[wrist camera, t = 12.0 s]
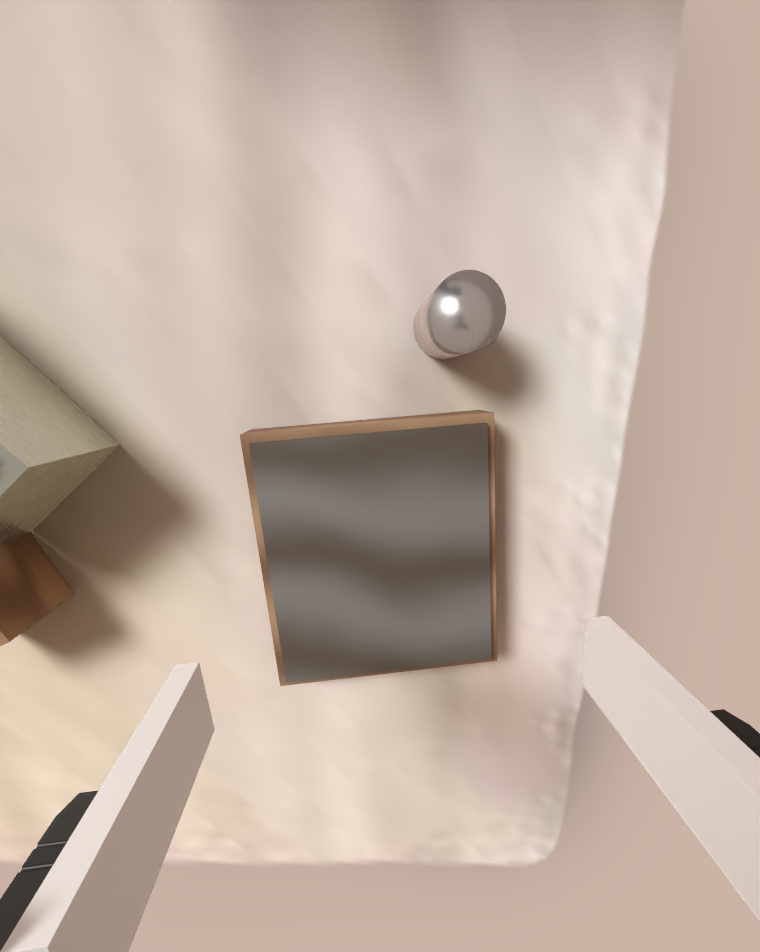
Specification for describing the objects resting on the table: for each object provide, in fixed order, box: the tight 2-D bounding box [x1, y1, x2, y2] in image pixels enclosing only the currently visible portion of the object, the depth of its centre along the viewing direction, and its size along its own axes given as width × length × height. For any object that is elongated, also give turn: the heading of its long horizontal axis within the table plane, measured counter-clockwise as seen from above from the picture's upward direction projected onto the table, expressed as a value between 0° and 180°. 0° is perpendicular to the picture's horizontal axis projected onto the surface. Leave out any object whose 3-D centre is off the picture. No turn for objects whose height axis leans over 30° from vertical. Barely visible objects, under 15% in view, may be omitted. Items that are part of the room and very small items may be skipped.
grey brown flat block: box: [240, 410, 497, 686], centre depth 24 cm, size 16×14×3 cm
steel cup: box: [414, 270, 506, 359], centre depth 21 cm, size 4×4×5 cm
